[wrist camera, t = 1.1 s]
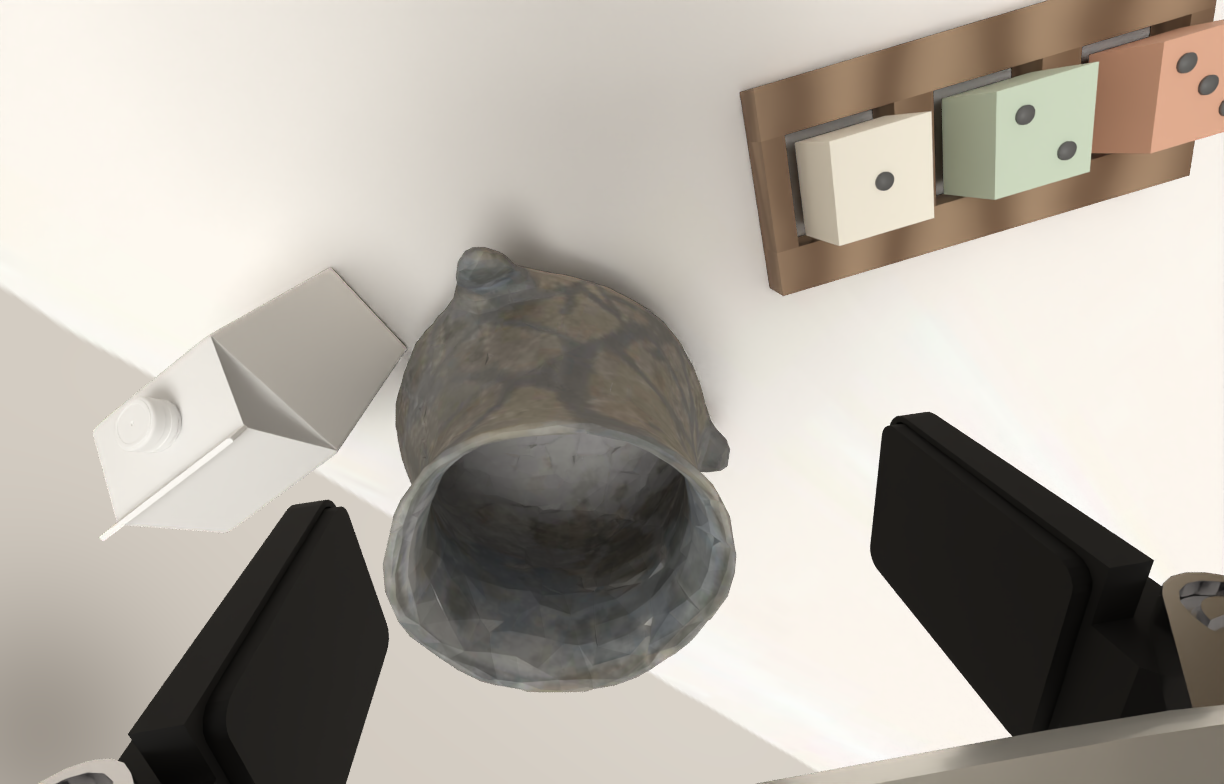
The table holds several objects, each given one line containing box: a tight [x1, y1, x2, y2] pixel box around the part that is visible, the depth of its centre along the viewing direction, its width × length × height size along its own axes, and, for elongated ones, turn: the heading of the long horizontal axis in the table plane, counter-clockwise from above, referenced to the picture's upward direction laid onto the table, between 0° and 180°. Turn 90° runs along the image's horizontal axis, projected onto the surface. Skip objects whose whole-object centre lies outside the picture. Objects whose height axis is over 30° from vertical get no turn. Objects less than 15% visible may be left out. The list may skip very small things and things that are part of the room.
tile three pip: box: [1089, 20, 1224, 154], centre depth 34 cm, size 6×6×5 cm
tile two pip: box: [942, 61, 1099, 200], centre depth 34 cm, size 6×6×5 cm
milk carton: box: [93, 268, 407, 541], centre depth 30 cm, size 7×7×19 cm
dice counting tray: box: [740, 0, 1216, 296], centre depth 37 cm, size 29×13×2 cm, turn 105°
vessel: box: [383, 247, 736, 692], centre depth 33 cm, size 22×22×20 cm
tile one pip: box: [795, 111, 934, 246], centre depth 34 cm, size 6×6×5 cm
